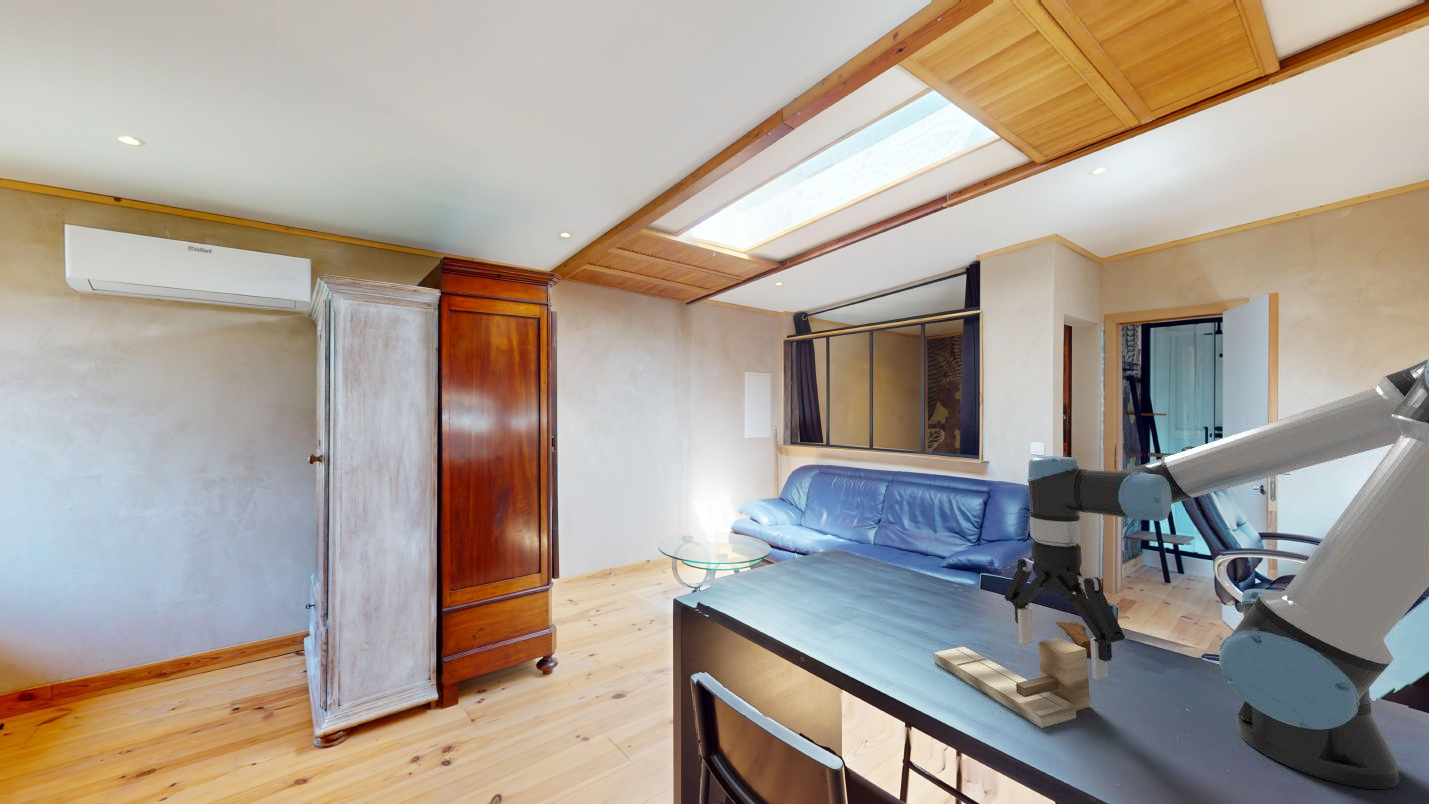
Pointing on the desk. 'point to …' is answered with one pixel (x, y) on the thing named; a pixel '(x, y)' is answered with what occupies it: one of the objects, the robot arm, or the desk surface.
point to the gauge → (1060, 673)
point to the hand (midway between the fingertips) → (1060, 659)
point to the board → (1005, 687)
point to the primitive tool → (1077, 634)
